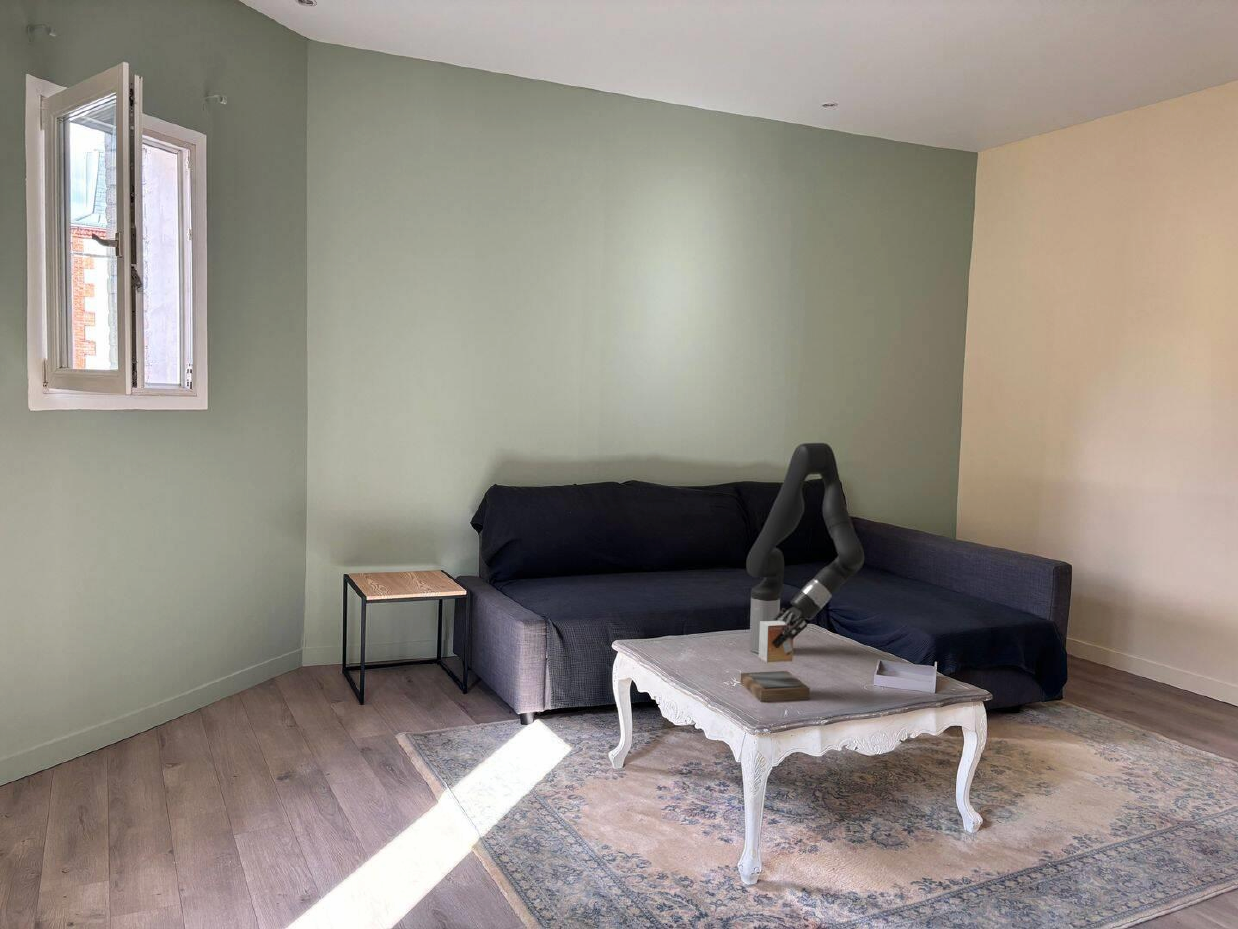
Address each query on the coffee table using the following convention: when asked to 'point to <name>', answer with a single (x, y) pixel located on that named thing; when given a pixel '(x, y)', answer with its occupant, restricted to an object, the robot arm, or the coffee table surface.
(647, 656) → the coffee table surface
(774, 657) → the small box
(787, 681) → the plinth
